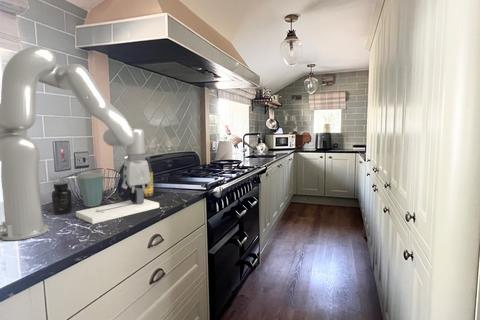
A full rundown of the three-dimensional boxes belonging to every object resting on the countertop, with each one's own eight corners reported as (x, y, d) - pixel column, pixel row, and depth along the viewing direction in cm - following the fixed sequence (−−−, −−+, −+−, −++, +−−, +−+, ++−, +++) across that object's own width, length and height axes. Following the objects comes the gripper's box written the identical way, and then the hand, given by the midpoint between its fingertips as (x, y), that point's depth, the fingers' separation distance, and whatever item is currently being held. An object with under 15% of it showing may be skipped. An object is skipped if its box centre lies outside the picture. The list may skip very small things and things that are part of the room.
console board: (92, 223, 103) (92, 218, 103) (76, 216, 112) (75, 211, 111) (159, 207, 124) (159, 202, 124) (141, 202, 133) (140, 197, 133)
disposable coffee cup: (87, 209, 122) (85, 174, 120) (73, 205, 128) (71, 172, 126) (110, 203, 131) (109, 171, 129) (96, 200, 136) (95, 169, 135)
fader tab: (137, 204, 121) (136, 189, 121) (131, 202, 124) (130, 188, 124) (143, 202, 124) (143, 188, 123) (137, 200, 127) (136, 187, 126)
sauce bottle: (149, 197, 142) (147, 157, 140) (137, 197, 143) (136, 157, 141) (155, 194, 148) (154, 156, 146) (144, 194, 150) (143, 156, 148)
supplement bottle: (55, 211, 119) (53, 182, 118) (74, 209, 122) (72, 181, 120) (50, 215, 113) (48, 185, 112) (70, 214, 115) (68, 184, 114)
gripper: (121, 160, 113) (124, 206, 115) (157, 156, 126) (158, 198, 128) (112, 158, 118) (114, 203, 120) (147, 156, 131) (149, 196, 133)
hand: (137, 200), depth 124 cm, fingers closed on fader tab, 3 cm apart
